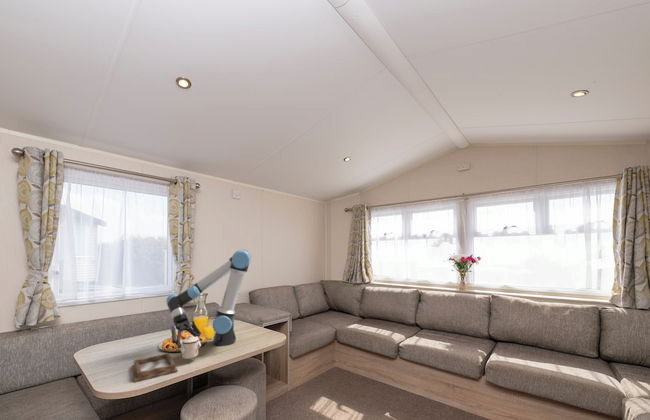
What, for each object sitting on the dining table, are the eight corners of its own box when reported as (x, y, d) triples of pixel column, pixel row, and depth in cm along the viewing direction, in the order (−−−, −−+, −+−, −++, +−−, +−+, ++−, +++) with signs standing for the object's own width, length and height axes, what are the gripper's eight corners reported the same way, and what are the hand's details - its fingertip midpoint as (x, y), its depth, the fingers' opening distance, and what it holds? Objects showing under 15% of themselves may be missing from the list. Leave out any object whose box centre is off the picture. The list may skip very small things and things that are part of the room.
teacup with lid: (199, 356, 168) (199, 335, 169) (181, 360, 164) (182, 338, 165) (197, 350, 179) (197, 330, 180) (180, 353, 174) (181, 333, 176)
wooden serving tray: (169, 359, 173) (170, 352, 173) (177, 372, 155) (177, 364, 156) (131, 367, 161) (132, 360, 162) (135, 382, 144) (135, 374, 144)
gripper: (194, 317, 191) (206, 347, 179) (158, 324, 174) (170, 359, 162) (198, 309, 188) (211, 340, 177) (163, 317, 171) (175, 351, 159)
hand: (191, 349), depth 169 cm, fingers closed on teacup with lid, 9 cm apart
